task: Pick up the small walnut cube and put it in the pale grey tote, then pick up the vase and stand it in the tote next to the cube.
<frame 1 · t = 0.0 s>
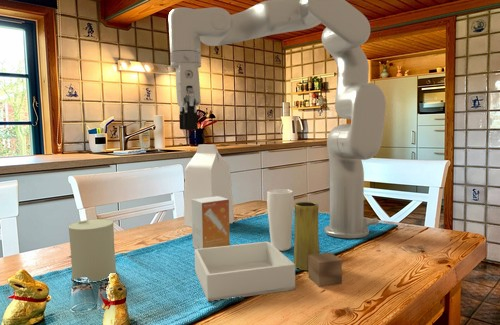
hand: (188, 129, 101), 31 cm above the table, tool pointing down, fingers open, 9 cm apart
can: (94, 276, 87), on the table
tote: (241, 279, 83), on the table
small box: (211, 248, 106), on the table
drinking glass: (280, 249, 103), on the table
vase: (306, 266, 90), on the table
milk: (209, 224, 131), on the table
walnut cube: (324, 281, 82), on the table
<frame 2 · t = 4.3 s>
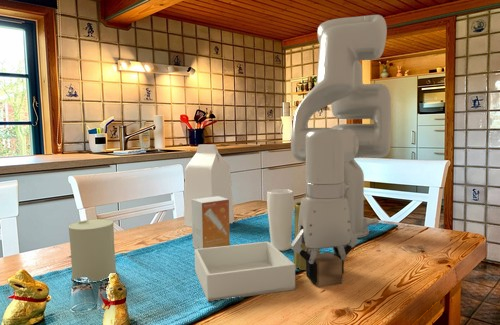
hand: (324, 277, 82), 1 cm above the table, tool pointing down, fingers closed on walnut cube, 5 cm apart
walnut cube: (325, 280, 82), on the table, touching gripper
everything else where it was.
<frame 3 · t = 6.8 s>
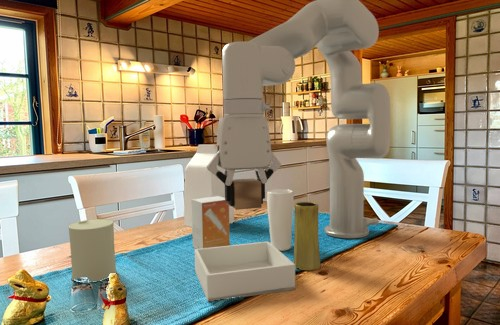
hand: (245, 202, 78), 17 cm above the table, tool pointing down, fingers closed on walnut cube, 5 cm apart
walnut cube: (245, 206, 78), point 16 cm above the table, touching gripper
everything else where it was.
when the fingers open (3 cm above the table, at t = 9.7 s): walnut cube drops 1 cm, resting on tote.
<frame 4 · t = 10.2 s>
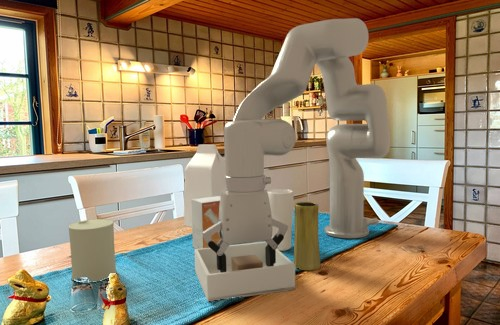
hand: (246, 270, 79), 3 cm above the table, tool pointing down, fingers open, 9 cm apart
walnut cube: (247, 284, 79), point 1 cm above the table, touching tote
everything else where it was.
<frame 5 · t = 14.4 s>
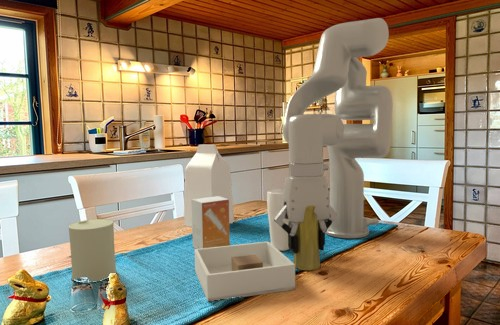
hand: (306, 249, 90), 4 cm above the table, tool pointing down, fingers closed on vase, 5 cm apart
vase: (306, 266, 90), on the table, touching gripper
everything else where it was.
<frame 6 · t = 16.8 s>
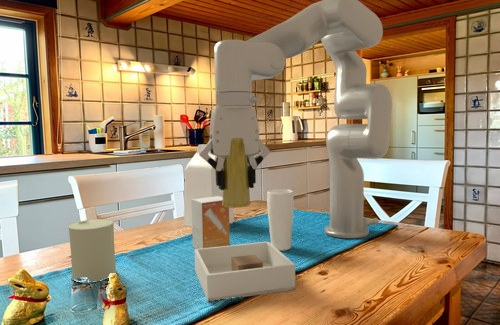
hand: (236, 187, 85), 19 cm above the table, tool pointing down, fingers closed on vase, 5 cm apart
vase: (236, 205, 85), point 15 cm above the table, touching gripper
everything else where it was.
when the fingers open (6 cm above the table, at t = 19.6 s): vase drops 1 cm, resting on tote.
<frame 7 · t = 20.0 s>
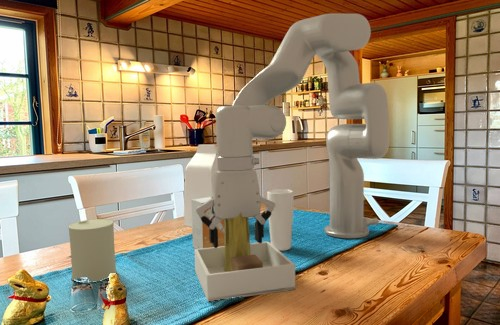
hand: (237, 243, 86), 7 cm above the table, tool pointing down, fingers open, 9 cm apart
vase: (237, 271, 86), point 1 cm above the table, touching tote
everything else where it was.
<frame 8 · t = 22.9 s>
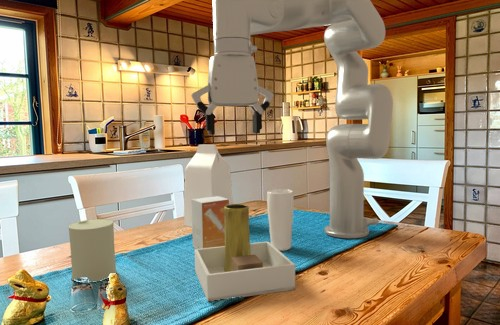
hand: (234, 133, 83), 30 cm above the table, tool pointing down, fingers open, 9 cm apart
nothing on the table moved.
at the end: walnut cube inside the target area on the tote (4.0 cm from its centre), point 0.6 cm above the tote's base; vase inside the target area on the tote (3.5 cm from its centre), point 0.4 cm above the tote's base; vase tilted 0° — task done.
